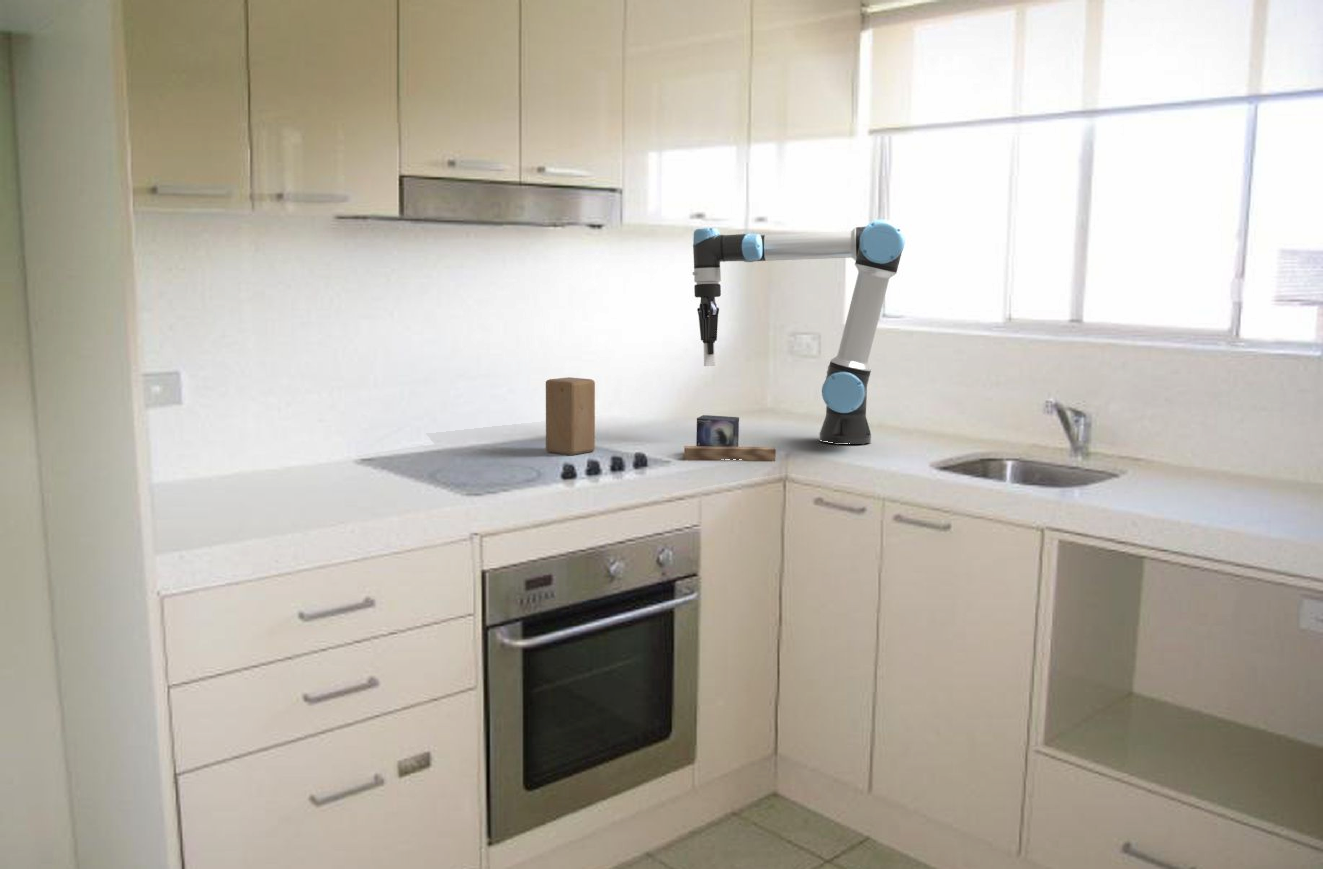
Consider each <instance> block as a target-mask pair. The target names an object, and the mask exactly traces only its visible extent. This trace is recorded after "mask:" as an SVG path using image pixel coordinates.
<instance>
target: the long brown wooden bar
mask: <svg viewBox="0 0 1323 869" xmlns="http://www.w3.org/2000/svg"><path fill="white" fill-rule="evenodd" d="M683 448H684V449H683V450H684V451H683V454H684V455H683V456H684V457H683V459H684V461H718V460H721V459H724V460H725V459H730V460H733V459H736V460H739V459H742V460H745V461H744V462H776V456H777V455H776V451H777V450H776V447H775V446H738V447H727V446H696V445H684V446H683Z"/></svg>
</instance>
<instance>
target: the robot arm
mask: <svg viewBox="0 0 1323 869" xmlns="http://www.w3.org/2000/svg"><path fill="white" fill-rule="evenodd" d="M905 241H906V240H905V233H904V231H903V229H902V228H901V226H900V225H899V224H898V223H896V222H894V221H893V220H889V219H876V220H873V221H871V222H870V223H868V224H867V225H866V226H857V227H854V228H853V229H852V230H848V231H847V230H846V231H845V230H844V231H843V230H842V231H825V232H824V231H823V232H822V231H821V232H820V231H819V232H803V233H783V234H782V233H779V234H761V235H760V234H759V233H741V234H739V233H738V234H721V232H720V229H719V228H716V227H706V228H696V229H695V230H694V232H693V244H692V250H693V252H692V253H693V268H694V269H693V272H692V275H693V278H694V279H693V280H694V283H696V284H694V286H693V287H694V297H695V298H700V303H699V307H697V309H696V310H697V315H698V325H699V333H700V341H702V343H703V366H704V367H714V366H715V363H716V362H715V361H716V360H715V343H716V341H717V340H718V327H719V326H718V325H719V323H718V322H719V320H718V319H719V312H720V307H717V303H716V298H719V297H721V295H722V292H721V288H722V287H721V284H720V282H721V281H722V280H721V278H722V277H721V276H722V274H721V262H722V263H724V262H744V263H753V262H768V261H795V260H796V261H797V260H800V261H801V260H818V259H819V260H820V259H821V260H823V259H824V260H826V259H849V258H851V259H853V260H854V261H855V262H854V266H855V268H856V269H857V272H858V274H857V278H856V281H855V285H854V289H853V292H852V297H851V299H850V304H849V307H848V311H847V312H848V313H847V316H846V320H845V324H844V329H843V333H842V337H841V339H840V340H841V341H840V344H839V349H838V352H837V355H836V356H835V357H833V358H832V359H830V362H829V365H828V366H827V370H826V376H825V380H824V382H823V384H822V387H821V396H822V400H823V402H824V404H825V405H826V408H825V416H824V420H823V422H822V426H821V428H820V432H819V434H818V435H819V439H820V440H822V441H828V442H833V443H848V444H849V443H850V444H862V445H864V444H863V443H869V444H871V443H872V434H871V430H870V426H869V422H868V419H867V399H868V398H867V397H868V396H867V394H868V383H869V380H870V376H871V371H872V368H871V366H870V365H869V364H868V363H869V358H870V354H871V350H872V346H873V342H874V339H875V334H876V332H877V327H878V323H879V319H880V317H881V316H880V315H881V312H882V308H883V304H884V300H885V296H886V293H887V288H888V285H889V280H890V279H891V278H892V277H894V276H895V275H897V272H898V268H899V264H900V261H901V256H902V254H903V251H904V249H905V244H906V242H905ZM870 442H871V443H870Z"/></svg>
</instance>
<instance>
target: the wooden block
mask: <svg viewBox="0 0 1323 869" xmlns="http://www.w3.org/2000/svg"><path fill="white" fill-rule="evenodd" d="M595 410H596V382H595V380H593V379H591V378H581V377H580V378H579V377H560V378H551V379H547V380H545V451H546V452H548V453H551V452H552V454H558V455H564V454H565V455H567V456H577V455H582V454H587V453H593V452H594V451H595V446H596V444H595V443H596V442H595V441H596V439H595V438H596V436H595V434H596V432H595V431H596V429H595V428H596V424H595V422H596V421H595V420H596V418H595V417H596V416H595V415H596V413H595V412H596V411H595Z"/></svg>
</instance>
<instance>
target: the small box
mask: <svg viewBox="0 0 1323 869" xmlns="http://www.w3.org/2000/svg"><path fill="white" fill-rule="evenodd" d="M739 428H740V417H739V416H724V415H711V414H710V415H709V414H708V415H707V414H703V415H701V416H699V417H697V418H696V440H695V441H696V444H695V446H727V447H739V436H740V430H739Z"/></svg>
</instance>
